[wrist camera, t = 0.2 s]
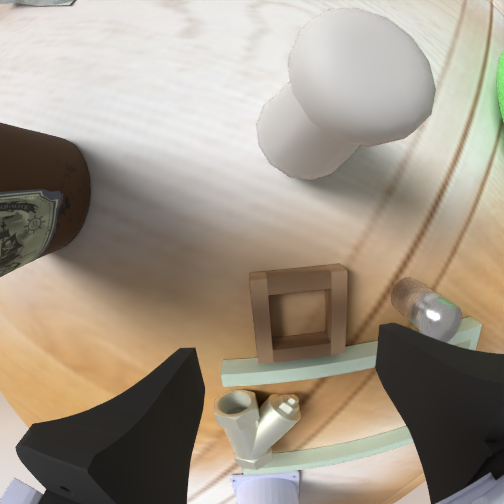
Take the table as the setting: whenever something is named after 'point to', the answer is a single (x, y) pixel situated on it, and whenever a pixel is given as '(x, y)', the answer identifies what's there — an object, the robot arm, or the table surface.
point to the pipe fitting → (255, 424)
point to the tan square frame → (291, 282)
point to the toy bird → (501, 84)
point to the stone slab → (38, 2)
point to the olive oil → (39, 195)
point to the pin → (426, 309)
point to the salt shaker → (345, 93)
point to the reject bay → (350, 361)
